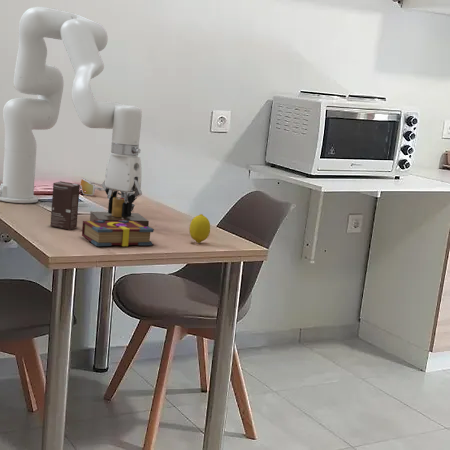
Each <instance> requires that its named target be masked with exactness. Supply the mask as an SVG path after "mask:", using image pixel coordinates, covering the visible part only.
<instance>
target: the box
mask: <svg viewBox="0 0 450 450" xmlns="http://www.w3.org/2000/svg"><path fill="white" fill-rule="evenodd" d="M80 185H81V184H79V183H73V182H67V181H56V182H53V184H52V196H51V197H52V199H51V211H50V212H51V213H50V227H54V228H60V229H64V230H75V229H76V228H78V216H79V215H78V213H79V204H80V203H79V202H80V192H81V191H80Z"/></svg>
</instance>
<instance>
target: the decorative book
mask: <svg viewBox="0 0 450 450" xmlns="http://www.w3.org/2000/svg"><path fill="white" fill-rule="evenodd" d="M81 229H82V230H81V237H83V238H85V239H86V240H87V241H90V242H91V244H92V245H94V246H96V247H112V246H121V247H129V246H133V245H134V246H136V245H137V246H153V241H151V233H154V229H153V228H152V227H150V226H149V225H148V226H147V227H146V226H144V225H142V224H140V223H138V222H136V221H126V220H117V221H103V220H94V221H90V220H82V228H81Z"/></svg>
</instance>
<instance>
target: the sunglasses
mask: <svg viewBox="0 0 450 450" xmlns="http://www.w3.org/2000/svg"><path fill="white" fill-rule="evenodd" d="M102 184H103V183H102ZM102 184H101V183H98V182H94V181H90V180H87V179H86V178H83V177H81V181H80V184H79V185H80V189H82V190H83V191H82V190H80V191H79V192H80V193H82V195H84V196H95V193H96V190H98V191H104V192H105V190H104V189H103V187H102ZM84 191H86V192H84ZM113 192H114V191H113ZM118 195H119V196H121V192H120V191H119V192H118Z"/></svg>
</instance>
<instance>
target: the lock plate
mask: <svg viewBox="0 0 450 450" xmlns="http://www.w3.org/2000/svg"><path fill="white" fill-rule="evenodd" d="M94 220H103V221H117V220H126V221H136V222H138V223H140V224H142V225H144V226H146V227H147V226H148V227H149V224H150V220H148V219H147V218H145V217H144V216H143V215H141V214H140V213H138V212H131V216H130V217H124V218H120V217H114V216H112V214H109V213H108V211H90V213H89V221H94Z"/></svg>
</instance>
